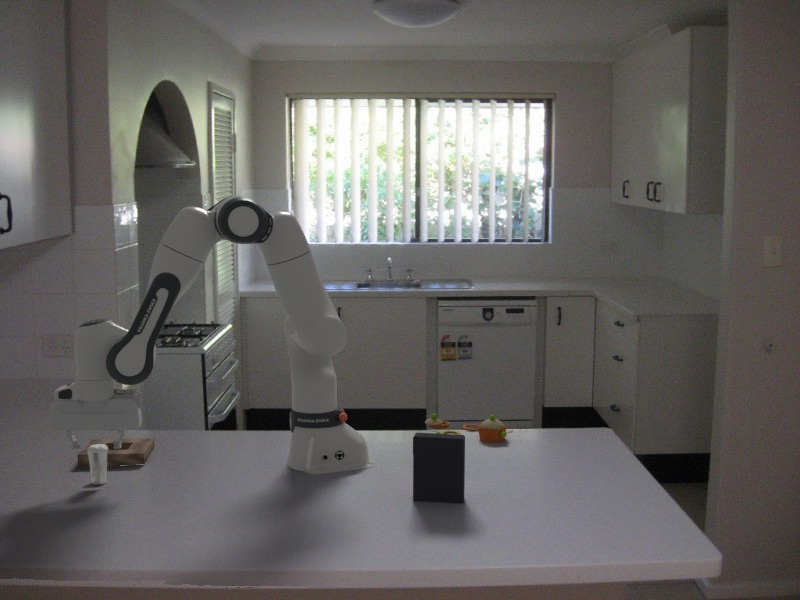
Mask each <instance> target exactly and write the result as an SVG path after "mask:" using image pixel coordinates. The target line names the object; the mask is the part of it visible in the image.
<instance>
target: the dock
mask: <svg viewBox="0 0 800 600" xmlns="http://www.w3.org/2000/svg"><path fill="white" fill-rule="evenodd" d="M117 439H118V438H108V439H106V438H104V443H103V444H104V445H106V446H107V447H108V459H107V466H120V465H136V464H137V465H138V464H145V462H146V461H147V462H148V460H149V458H150V457H149V456H151V455H152V453H153V451H154V450H155V448H154V447H156V445H155V444H156V443H155V439H156V438H155V437H152V438H148V437H147V438H123V439H122V446H121V448H120V449H114V441H115V440H117ZM101 443H102V438H101V439H91V440H90V441H89V442H88V443H87V444H86V445H85V446H84V447H83V448H82V449H81V450H80V452H79V453H78V454H77V468H78V469H87V468H88V469H90V464H89V457H88V451H87V449H88V448H89V447H90V446H91V445H96V444H101ZM153 449H154V450H153ZM151 452H152V453H151ZM150 454H151V455H150ZM148 457H149V458H148ZM147 459H148V460H147ZM147 462H146V463H147ZM145 465H146V464H145Z"/></svg>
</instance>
